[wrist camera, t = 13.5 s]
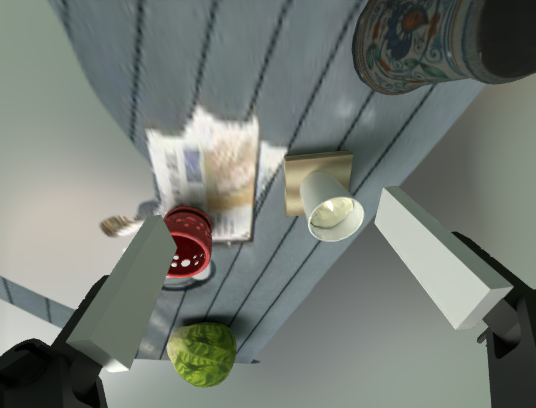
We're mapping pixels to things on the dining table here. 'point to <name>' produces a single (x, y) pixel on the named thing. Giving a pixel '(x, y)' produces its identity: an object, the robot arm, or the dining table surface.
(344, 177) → the plinth
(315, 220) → the candle holder
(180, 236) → the plant pot
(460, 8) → the beer stein
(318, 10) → the dining table surface
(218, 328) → the lettuce
